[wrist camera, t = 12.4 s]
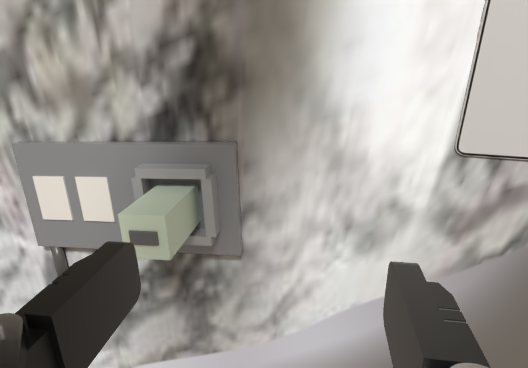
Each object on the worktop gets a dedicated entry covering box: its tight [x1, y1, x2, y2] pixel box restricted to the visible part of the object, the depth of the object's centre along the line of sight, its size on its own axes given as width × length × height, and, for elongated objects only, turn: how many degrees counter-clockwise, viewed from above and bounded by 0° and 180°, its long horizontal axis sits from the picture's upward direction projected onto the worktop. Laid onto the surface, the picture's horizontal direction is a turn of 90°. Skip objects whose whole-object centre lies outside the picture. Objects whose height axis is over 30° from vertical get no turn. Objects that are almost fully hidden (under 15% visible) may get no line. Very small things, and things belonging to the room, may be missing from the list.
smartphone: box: [455, 0, 528, 160], centre depth 29 cm, size 7×1×15 cm
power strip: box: [12, 142, 243, 277], centre depth 38 cm, size 16×24×3 cm, turn 92°
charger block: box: [118, 183, 201, 260], centre depth 33 cm, size 4×4×8 cm
